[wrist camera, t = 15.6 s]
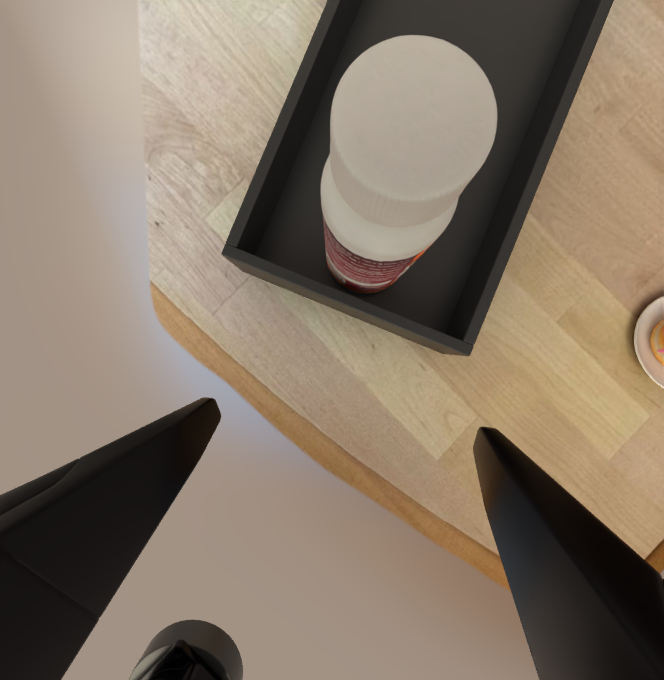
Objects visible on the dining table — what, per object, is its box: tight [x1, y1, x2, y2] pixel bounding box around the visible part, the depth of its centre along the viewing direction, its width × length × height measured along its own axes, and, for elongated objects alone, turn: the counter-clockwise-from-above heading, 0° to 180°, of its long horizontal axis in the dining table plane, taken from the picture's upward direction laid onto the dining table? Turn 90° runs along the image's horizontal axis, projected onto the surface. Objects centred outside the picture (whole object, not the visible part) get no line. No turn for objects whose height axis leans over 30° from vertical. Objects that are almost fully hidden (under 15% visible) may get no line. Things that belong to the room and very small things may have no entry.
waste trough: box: [222, 0, 614, 356], centre depth 17 cm, size 42×18×4 cm, turn 158°
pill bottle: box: [321, 35, 497, 294], centre depth 13 cm, size 6×6×11 cm
